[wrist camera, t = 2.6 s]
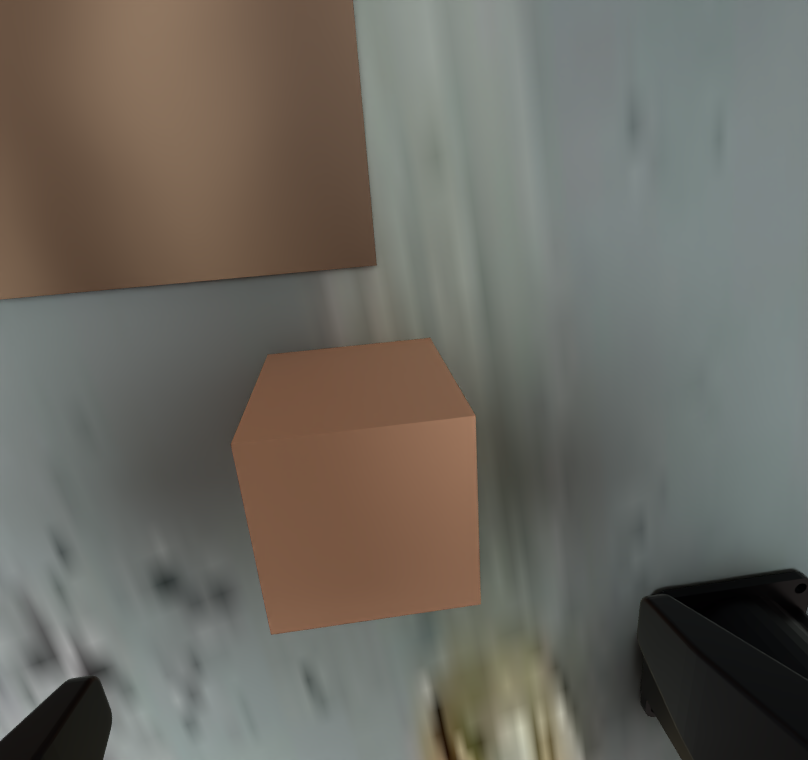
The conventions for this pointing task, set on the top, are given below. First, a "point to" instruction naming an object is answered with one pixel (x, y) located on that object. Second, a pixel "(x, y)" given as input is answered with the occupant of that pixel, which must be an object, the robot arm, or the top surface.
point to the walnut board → (178, 142)
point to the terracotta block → (359, 485)
